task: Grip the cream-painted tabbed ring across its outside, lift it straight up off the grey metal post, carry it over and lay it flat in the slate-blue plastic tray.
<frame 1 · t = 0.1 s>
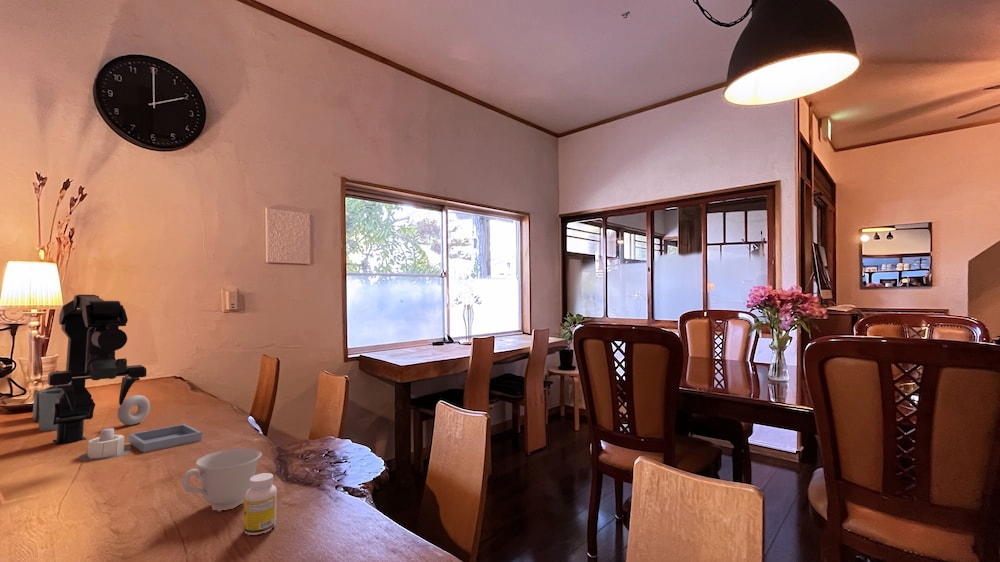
hand: (97, 407, 115), 14 cm above the table, fingers open, 9 cm apart
teacup: (220, 509, 91), on the table
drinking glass: (58, 427, 145), on the table
donut: (133, 425, 149), on the table
ring: (105, 453, 120), point 1 cm above the table, touching stake
stake: (105, 455, 120), on the table
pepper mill: (64, 416, 158), on the table
supplement bottle: (259, 530, 83), on the table
tray: (165, 443, 130), on the table
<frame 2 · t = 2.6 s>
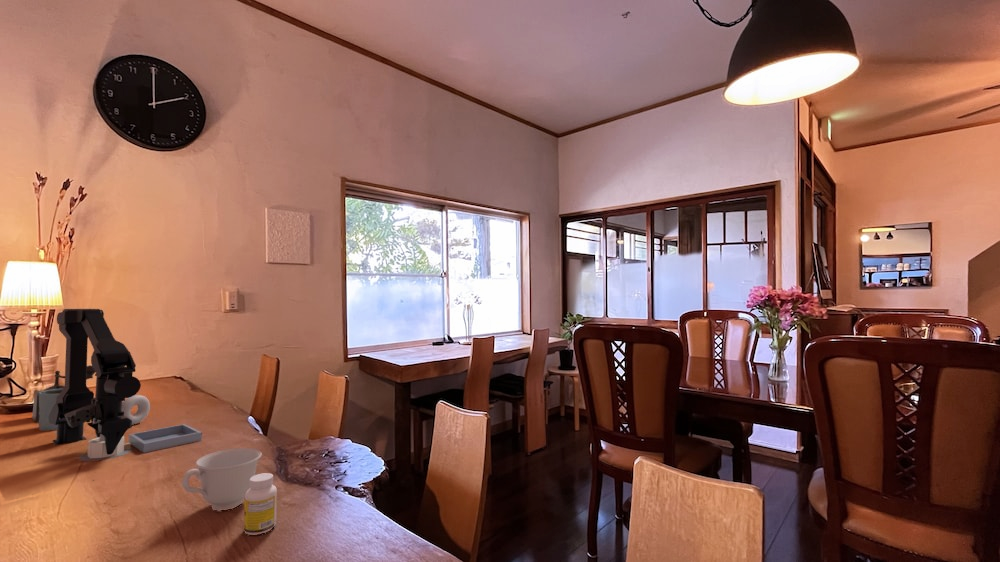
hand: (106, 451, 120), 1 cm above the table, fingers closed on ring, 7 cm apart
ring: (105, 453, 120), point 1 cm above the table, touching gripper, stake
everything else where it was.
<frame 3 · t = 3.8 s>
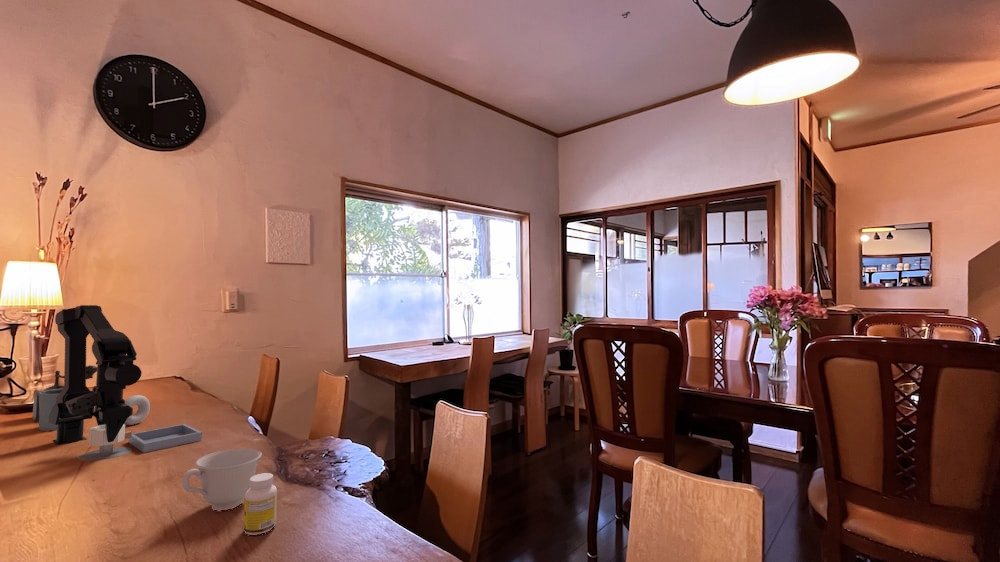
hand: (106, 439, 120), 4 cm above the table, fingers closed on ring, 7 cm apart
ring: (106, 441, 120), point 4 cm above the table, touching gripper
everything else where it was.
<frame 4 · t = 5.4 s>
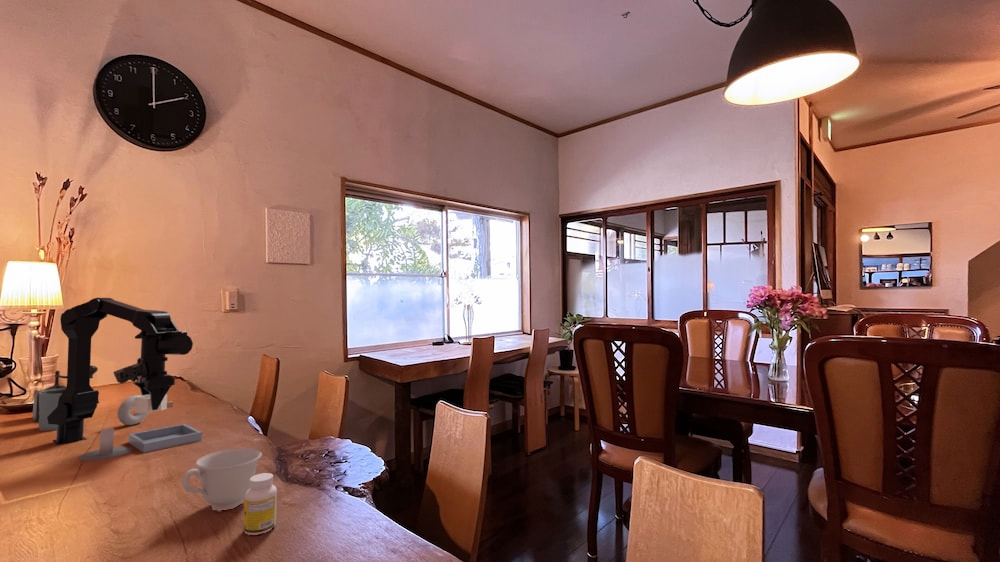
hand: (150, 407, 127), 11 cm above the table, fingers closed on ring, 7 cm apart
ring: (150, 410, 127), point 11 cm above the table, touching gripper
everything else where it was.
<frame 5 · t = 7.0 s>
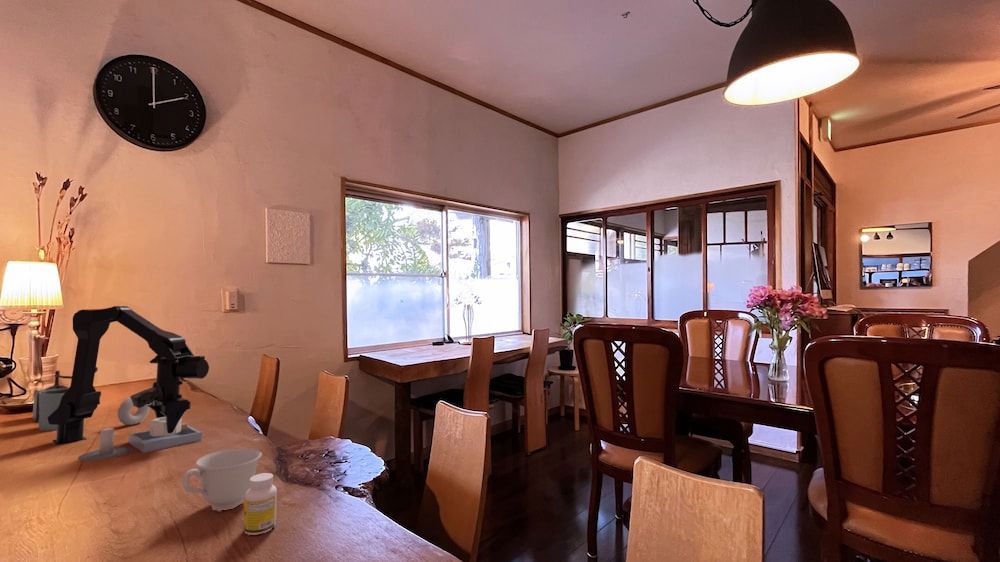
hand: (165, 430, 131), 4 cm above the table, fingers closed on ring, 7 cm apart
ring: (165, 432, 131), point 3 cm above the table, touching gripper
everything else where it was.
when the fingers open (3 cm above the table, at t = 8.2 s): ring drops 2 cm, resting on tray.
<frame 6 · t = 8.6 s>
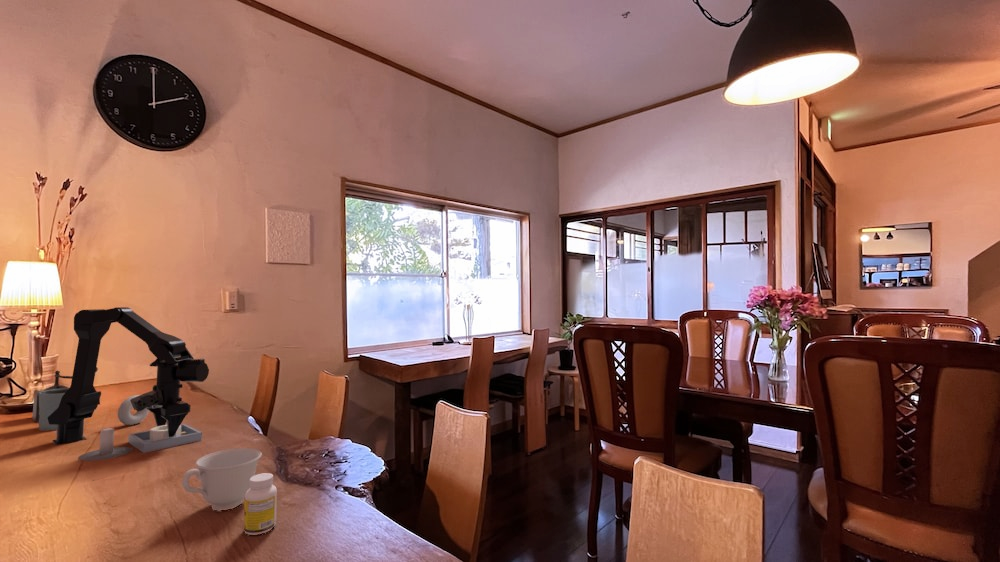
hand: (165, 433, 131), 3 cm above the table, fingers open, 9 cm apart
ring: (165, 441, 130), point 1 cm above the table, touching tray
everything else where it was.
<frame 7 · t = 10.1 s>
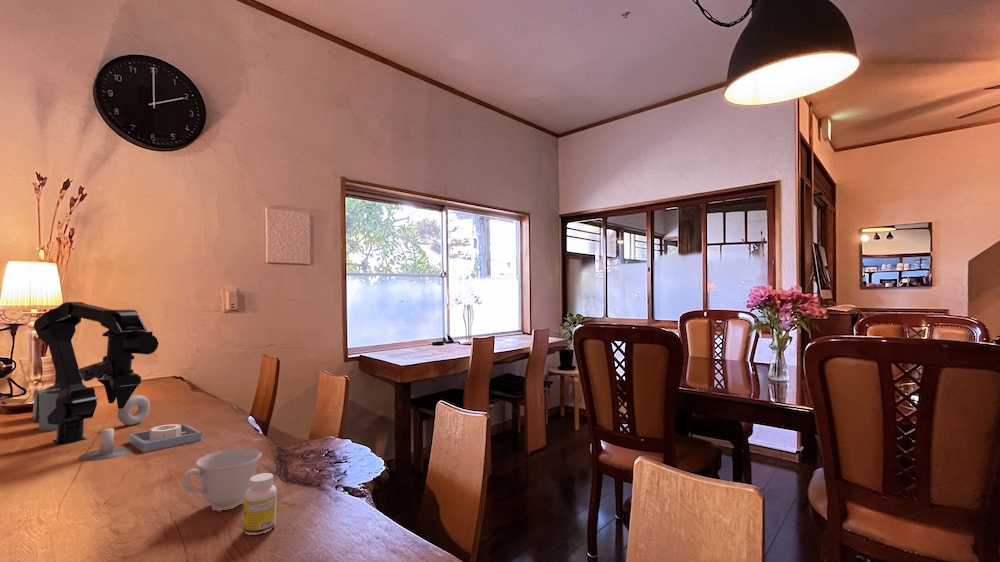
hand: (115, 405, 128), 12 cm above the table, fingers open, 9 cm apart
nothing on the table moved.
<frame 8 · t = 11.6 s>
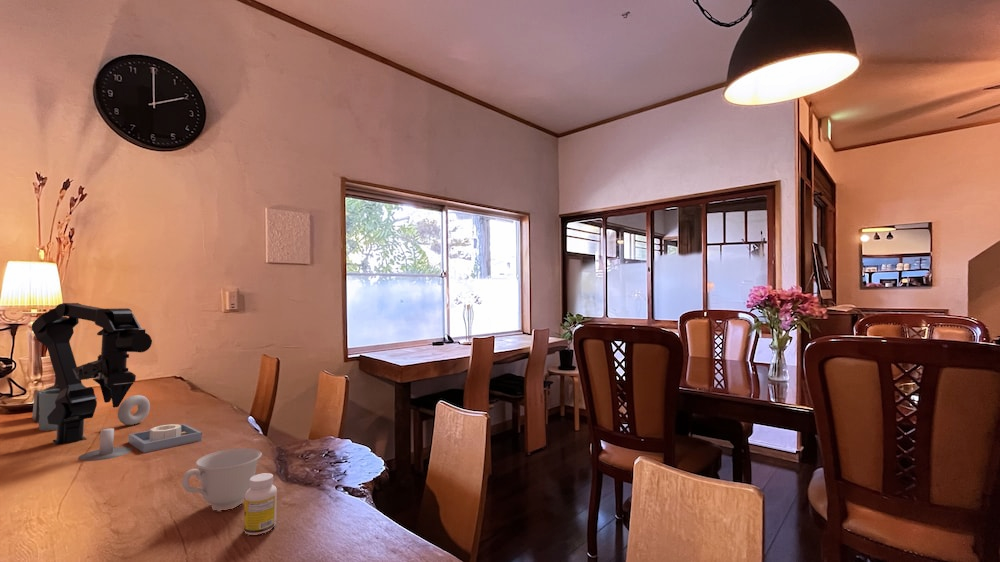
hand: (111, 404, 127), 12 cm above the table, fingers open, 9 cm apart
nothing on the table moved.
at the end: ring inside the target area on the tray (0.1 cm from its centre), point 0.6 cm above the tray's base; ring tilted 0°; the gripper is holding nothing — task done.
